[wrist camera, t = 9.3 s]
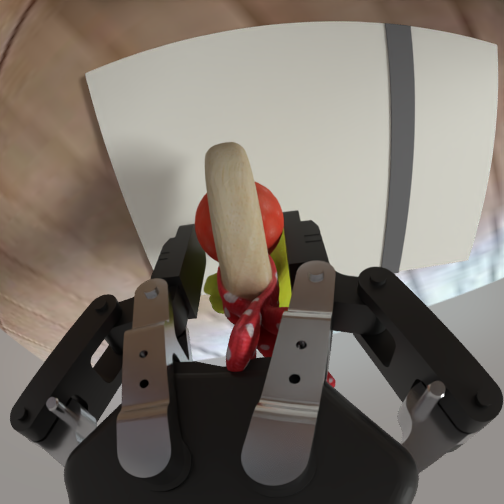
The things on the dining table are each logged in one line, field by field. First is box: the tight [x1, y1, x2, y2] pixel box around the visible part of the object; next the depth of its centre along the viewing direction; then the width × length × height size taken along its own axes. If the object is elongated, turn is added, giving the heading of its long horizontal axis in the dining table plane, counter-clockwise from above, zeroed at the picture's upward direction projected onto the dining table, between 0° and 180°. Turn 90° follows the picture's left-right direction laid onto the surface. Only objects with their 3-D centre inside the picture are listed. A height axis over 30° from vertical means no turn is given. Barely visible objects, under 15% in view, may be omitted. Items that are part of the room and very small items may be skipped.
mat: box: [85, 21, 498, 295], centre depth 18 cm, size 18×26×1 cm
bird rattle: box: [195, 142, 335, 388], centre depth 12 cm, size 6×11×9 cm
